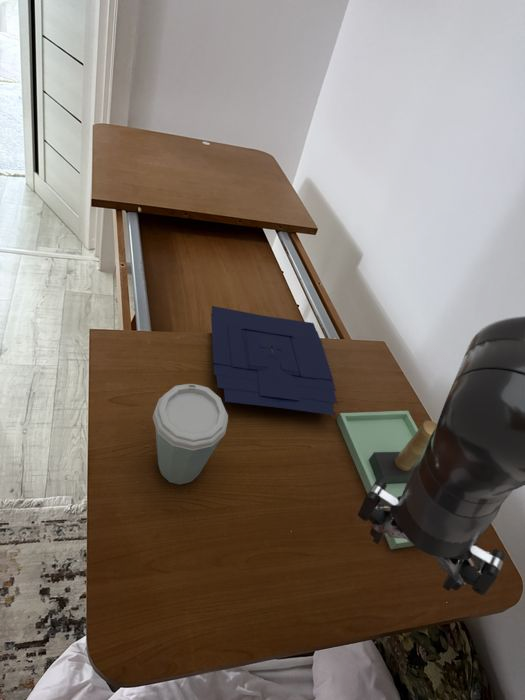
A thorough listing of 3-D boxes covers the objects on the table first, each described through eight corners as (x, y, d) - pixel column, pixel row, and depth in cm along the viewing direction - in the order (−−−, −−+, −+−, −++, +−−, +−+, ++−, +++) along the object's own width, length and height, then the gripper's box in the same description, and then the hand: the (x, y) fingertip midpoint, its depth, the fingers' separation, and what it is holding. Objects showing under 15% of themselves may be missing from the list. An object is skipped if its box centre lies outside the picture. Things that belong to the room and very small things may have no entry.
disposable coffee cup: (212, 498, 78) (235, 442, 68) (141, 497, 75) (154, 439, 65) (208, 440, 85) (227, 382, 75) (143, 438, 82) (154, 377, 72)
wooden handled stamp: (425, 482, 91) (464, 441, 82) (377, 484, 88) (412, 441, 79) (415, 458, 94) (450, 416, 86) (368, 459, 91) (400, 415, 83)
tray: (467, 537, 86) (474, 531, 84) (390, 549, 80) (396, 543, 79) (403, 416, 103) (408, 410, 101) (335, 419, 97) (340, 412, 95)
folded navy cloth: (211, 411, 88) (215, 396, 86) (208, 315, 112) (211, 302, 110) (339, 426, 94) (346, 412, 92) (310, 332, 118) (315, 320, 115)
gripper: (357, 488, 46) (342, 548, 59) (514, 584, 40) (460, 629, 53) (395, 430, 50) (373, 498, 62) (543, 510, 44) (486, 568, 57)
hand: (413, 558), depth 58 cm, fingers open, 8 cm apart
